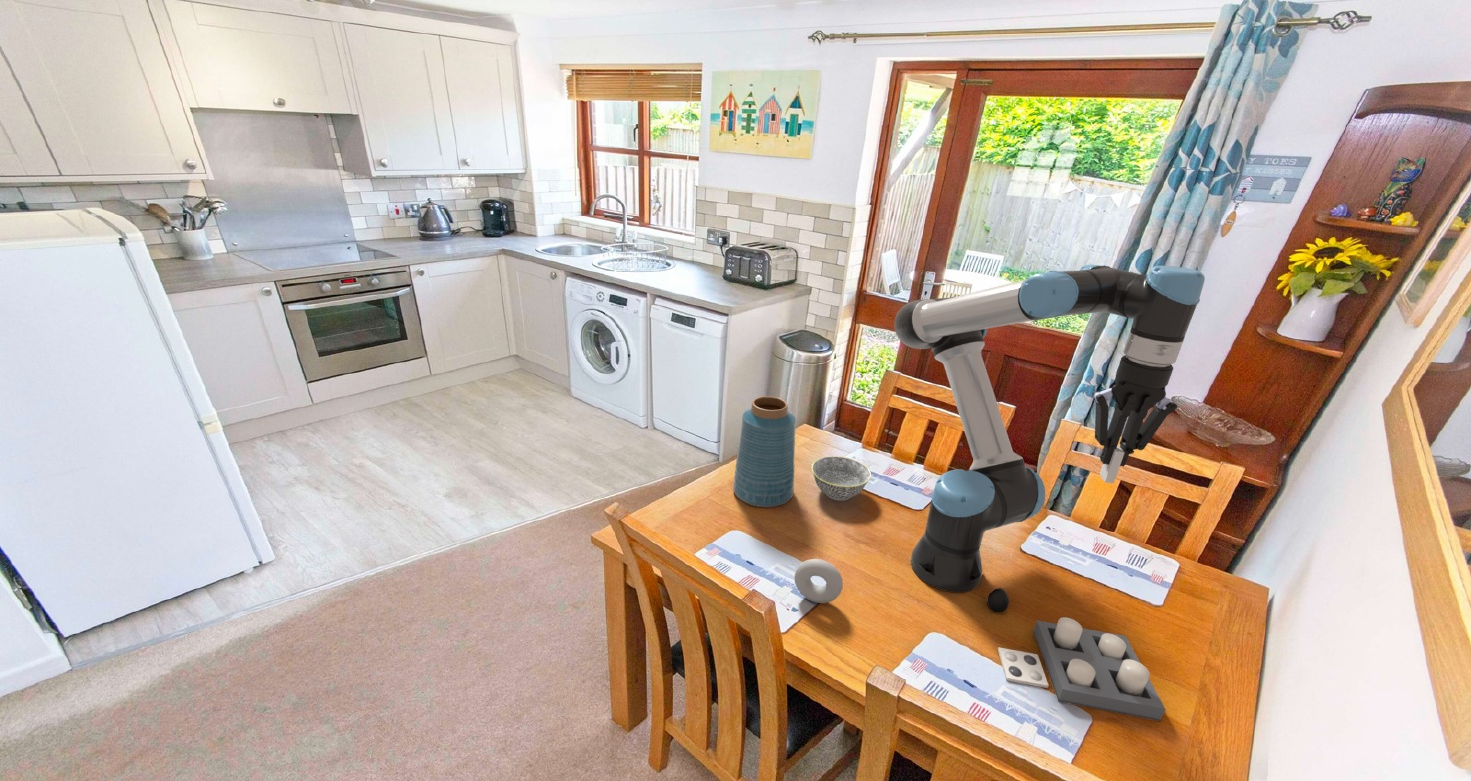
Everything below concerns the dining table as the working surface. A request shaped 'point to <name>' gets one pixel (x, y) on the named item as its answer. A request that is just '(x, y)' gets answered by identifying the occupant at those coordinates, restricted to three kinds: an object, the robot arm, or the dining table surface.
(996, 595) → the egg
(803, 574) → the donut
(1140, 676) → the button
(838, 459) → the bowl
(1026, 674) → the card
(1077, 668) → the button
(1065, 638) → the button
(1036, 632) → the board
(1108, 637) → the button
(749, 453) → the vase
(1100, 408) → the robot arm
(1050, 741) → the dining table surface
